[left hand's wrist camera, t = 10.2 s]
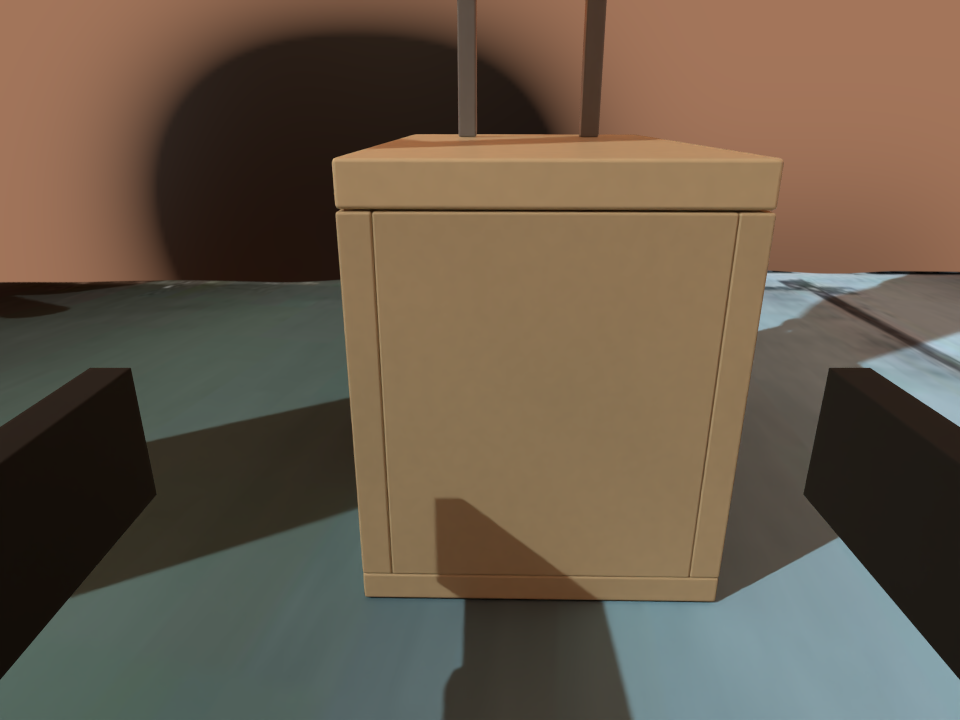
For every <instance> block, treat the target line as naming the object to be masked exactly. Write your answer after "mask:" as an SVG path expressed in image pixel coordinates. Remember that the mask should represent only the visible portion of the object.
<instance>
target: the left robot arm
mask: <svg viewBox="0 0 960 720" xmlns="http://www.w3.org/2000/svg"><path fill="white" fill-rule="evenodd" d="M155 496H156V490H155V485H154V480H153V475H152V470H151V465H150V460H149V455H148V450H147V445H146V440H145V436H144V431H143V426H142V421H141V416H140V411H139V406H138V401H137V396H136V391H135V386H134V381H133V377H132V372H131V368H89V369H88V370H86V371H85V372H83V373H82V374H80V375H79V376H77V377H75V378H74V379H72V380H71V381H69V382H68V383H66V384H65V385H63V386H62V387H60V388H59V389H57V390H56V391H54V392H53V393H51V394H50V395H48V396H47V397H45V398H44V399H42V400H41V401H39V402H38V403H36V404H35V405H33V406H31V407H30V408H28V409H27V410H25V411H24V412H22V413H21V414H19V415H18V416H16V417H15V418H13V419H12V420H10V421H9V422H7V423H6V424H4V425H3V426H1V427H0V679H1V678H2V677H3V676H4V675H5V673H6V672H7V671H8V670H9V669H10V667H11V666H12V665H13V664H14V663H15V662H16V660H17V659H18V658H19V657H20V656H21V654H22V653H23V652H24V651H25V650H26V648H27V647H28V646H29V645H30V644H31V643H32V641H33V640H34V639H35V638H36V637H37V635H38V634H39V633H40V632H41V631H42V630H43V628H44V627H45V626H46V625H47V624H48V622H49V621H50V620H51V619H52V618H53V616H54V615H55V614H56V613H57V612H58V611H59V609H60V608H61V607H62V606H63V605H64V603H65V602H66V601H67V600H68V599H69V598H70V596H71V595H72V594H73V593H74V592H75V590H76V589H77V588H78V587H79V586H80V584H81V583H82V582H83V581H84V580H85V579H86V577H87V576H88V575H89V574H90V573H91V571H92V570H93V569H94V568H95V567H96V566H97V564H98V563H99V562H100V561H101V560H102V558H103V557H104V556H105V555H106V554H107V552H108V551H109V550H110V549H111V548H112V547H113V545H114V544H115V543H116V542H117V541H118V539H119V538H120V537H121V536H122V535H123V534H124V532H125V531H126V530H127V529H128V528H129V526H130V525H131V524H132V523H133V522H134V520H135V519H136V518H137V517H138V516H139V515H140V513H141V512H142V511H143V510H144V509H145V507H146V506H147V505H148V504H149V503H150V502H151V500H152V499H153V498H154V497H155ZM804 496H805V497H806V498H807V499H808V500H809V502H810V503H811V504H812V505H813V506H814V507H815V509H816V510H817V511H818V512H819V513H820V515H821V516H822V517H823V518H824V519H825V520H826V522H827V523H828V524H829V525H830V526H831V528H832V529H833V530H834V531H835V532H836V534H837V535H838V536H839V537H840V538H841V539H842V541H843V542H844V543H845V544H846V545H847V547H848V548H849V549H850V550H851V551H852V552H853V554H854V555H855V556H856V557H857V558H858V560H859V561H860V562H861V563H862V564H863V566H864V567H865V568H866V569H867V570H868V571H869V573H870V574H871V575H872V576H873V577H874V579H875V580H876V581H877V582H878V583H879V584H880V586H881V587H882V588H883V589H884V590H885V592H886V593H887V594H888V595H889V596H890V598H891V599H892V600H893V601H894V602H895V603H896V605H897V606H898V607H899V608H900V609H901V611H902V612H903V613H904V614H905V615H906V616H907V618H908V619H909V620H910V621H911V622H912V624H913V625H914V626H915V627H916V628H917V630H918V631H919V632H920V633H921V634H922V635H923V637H924V638H925V639H926V640H927V641H928V643H929V644H930V645H931V646H932V647H933V648H934V650H935V651H936V652H937V653H938V654H939V656H940V657H941V658H942V659H943V660H944V662H945V663H946V664H947V665H948V666H949V667H950V669H951V670H952V671H953V672H954V673H955V675H956V676H957V677H958V678H959V679H960V427H959V426H957V425H956V424H954V423H953V422H951V421H950V420H948V419H947V418H945V417H944V416H942V415H941V414H939V413H938V412H936V411H935V410H933V409H932V408H930V407H929V406H927V405H925V404H924V403H922V402H921V401H919V400H918V399H916V398H915V397H913V396H912V395H910V394H909V393H907V392H906V391H904V390H903V389H901V388H900V387H898V386H897V385H895V384H894V383H892V382H891V381H889V380H888V379H886V378H884V377H883V376H881V375H880V374H878V373H877V372H875V371H874V370H872V369H871V368H829V372H828V377H827V381H826V386H825V391H824V396H823V401H822V406H821V411H820V416H819V421H818V426H817V431H816V436H815V440H814V445H813V450H812V455H811V460H810V465H809V470H808V475H807V480H806V485H805V490H804Z"/></svg>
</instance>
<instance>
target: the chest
mask: <svg viewBox="0 0 960 720" xmlns="http://www.w3.org/2000/svg"><path fill="white" fill-rule="evenodd" d="M775 219H776V214H775V213H772V212H770V211H767V210H476V209H341V210H340V211H338V212H337V213H336V225H337V238H338V251H339V264H340V277H341V290H342V303H343V316H344V329H345V342H346V355H347V368H348V381H349V394H350V407H351V420H352V433H353V446H354V459H355V472H356V485H357V499H358V512H359V525H360V538H361V551H362V564H363V572H364V574H363V576H364V589H365V596H367V597H420V598H494V599H567V600H640V601H715V597H716V590H717V584H718V577H719V572H720V566H721V560H722V553H723V547H724V541H725V535H726V528H727V522H728V516H729V509H730V503H731V497H732V490H733V484H734V478H735V471H736V465H737V459H738V453H739V446H740V440H741V434H742V427H743V421H744V415H745V408H746V402H747V396H748V389H749V383H750V377H751V371H752V364H753V358H754V352H755V345H756V339H757V333H758V326H759V320H760V314H761V307H762V301H763V295H764V289H765V282H766V276H767V270H768V263H769V257H770V251H771V244H772V238H773V232H774V225H775Z"/></svg>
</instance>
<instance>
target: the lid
mask: <svg viewBox="0 0 960 720" xmlns="http://www.w3.org/2000/svg"><path fill="white" fill-rule="evenodd" d="M606 2H607V0H586V3H585V23H584V42H583V62H582V82H581V101H580V121H579V135H477V0H457V23H458V115H459V116H458V117H459V135H458V134H457V135H456V134H455V135H453V134H450V135H448V134H447V135H445V134H444V135H442V134H441V135H440V134H429V135H428V134H415V135H412V136H408V137H405V138H402V139H398V140H395V141H391V142H388V143H384V144H381V145H378V146H374V147H371V148H367V149H364V150H360V151H357V152H353V153H350V154H347V155H343V156H340V157H336V158H334V159H333V161H332V168H333V182H334V195H335V205H336V207H337V208H339V209H476V210H774V209H776V207H777V203H778V196H779V190H780V184H781V177H782V171H783V164H784V162H783V160H782V159H780V158H775V157H769V156H763V155H756V154H750V153H744V152H738V151H732V150H726V149H720V148H713V147H707V146H701V145H695V144H689V143H683V142H677V141H671V140H665V139H658V138H652V137H646V136H640V135H598V134H599V117H600V100H601V84H602V68H603V51H604V35H605V19H606Z"/></svg>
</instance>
